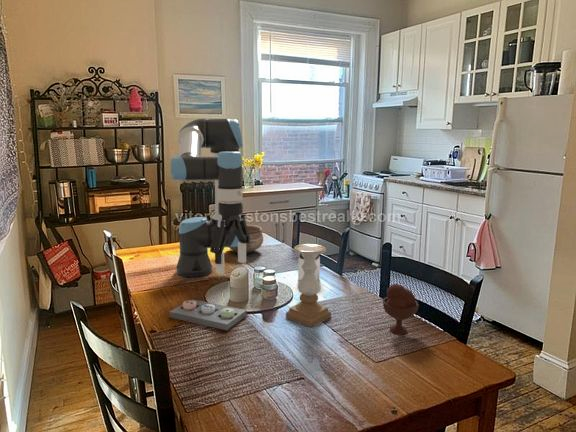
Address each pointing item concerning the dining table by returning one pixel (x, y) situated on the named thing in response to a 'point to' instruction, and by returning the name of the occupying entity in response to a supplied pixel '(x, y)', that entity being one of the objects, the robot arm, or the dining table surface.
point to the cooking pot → (252, 239)
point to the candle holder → (309, 290)
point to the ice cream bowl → (399, 306)
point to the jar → (300, 270)
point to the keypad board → (208, 316)
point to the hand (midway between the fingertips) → (231, 267)
